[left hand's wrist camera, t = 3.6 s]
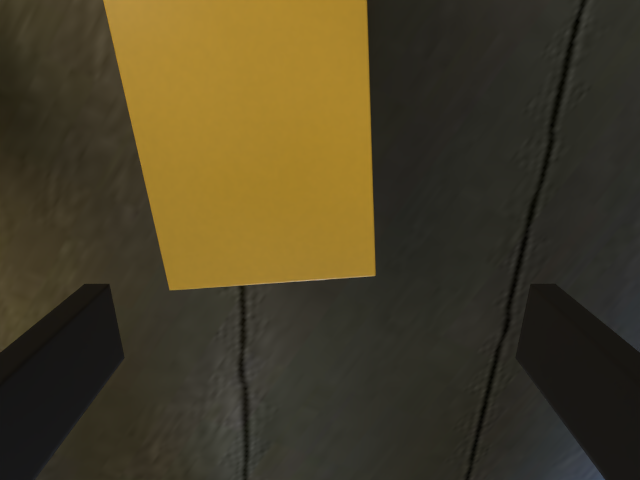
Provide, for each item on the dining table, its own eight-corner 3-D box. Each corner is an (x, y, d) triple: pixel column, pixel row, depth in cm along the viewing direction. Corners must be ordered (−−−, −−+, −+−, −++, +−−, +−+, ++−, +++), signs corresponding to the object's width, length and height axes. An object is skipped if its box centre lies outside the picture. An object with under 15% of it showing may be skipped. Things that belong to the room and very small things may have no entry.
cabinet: (163, -94, 23) (49, -233, 13) (341, -111, 23) (359, -265, 13) (218, 226, 30) (169, 291, 20) (356, 216, 30) (376, 276, 20)
